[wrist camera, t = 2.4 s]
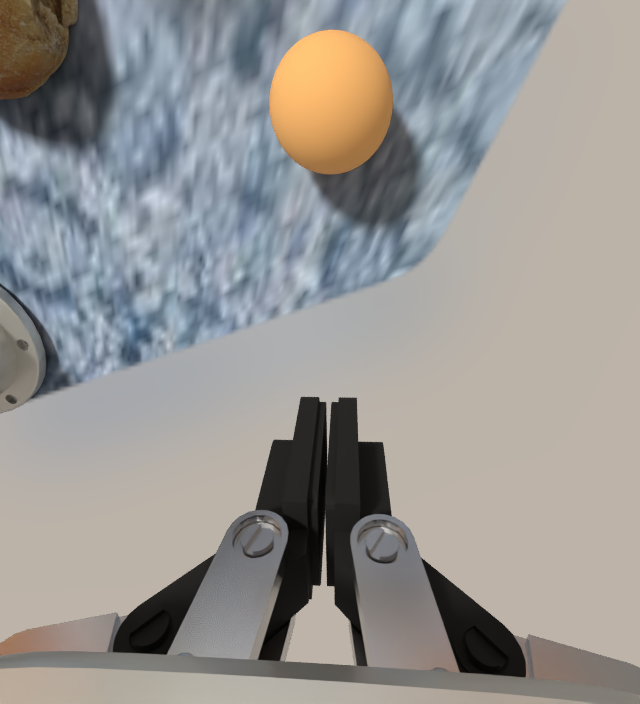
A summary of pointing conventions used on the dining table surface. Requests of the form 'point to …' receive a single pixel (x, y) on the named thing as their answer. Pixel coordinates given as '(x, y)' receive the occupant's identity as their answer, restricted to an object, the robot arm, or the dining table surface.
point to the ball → (331, 102)
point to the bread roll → (32, 42)
